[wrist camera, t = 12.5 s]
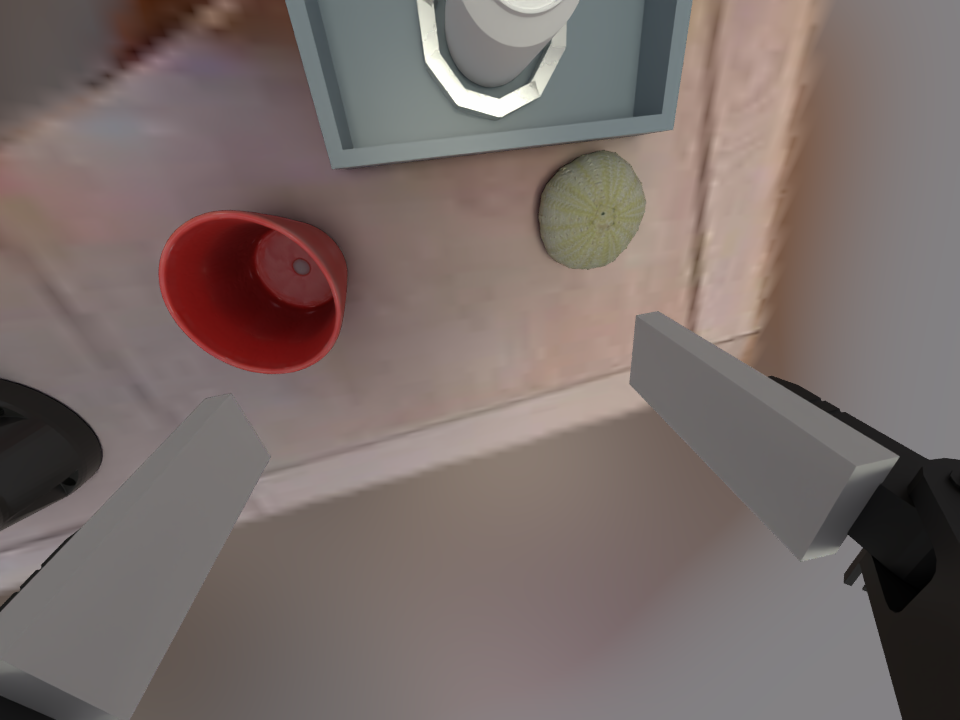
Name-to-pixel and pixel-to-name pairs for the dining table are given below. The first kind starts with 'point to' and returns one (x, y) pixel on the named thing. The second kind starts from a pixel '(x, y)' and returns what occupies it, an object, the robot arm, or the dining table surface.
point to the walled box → (449, 132)
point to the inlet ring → (474, 100)
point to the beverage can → (501, 35)
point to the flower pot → (255, 289)
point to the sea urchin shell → (591, 210)
